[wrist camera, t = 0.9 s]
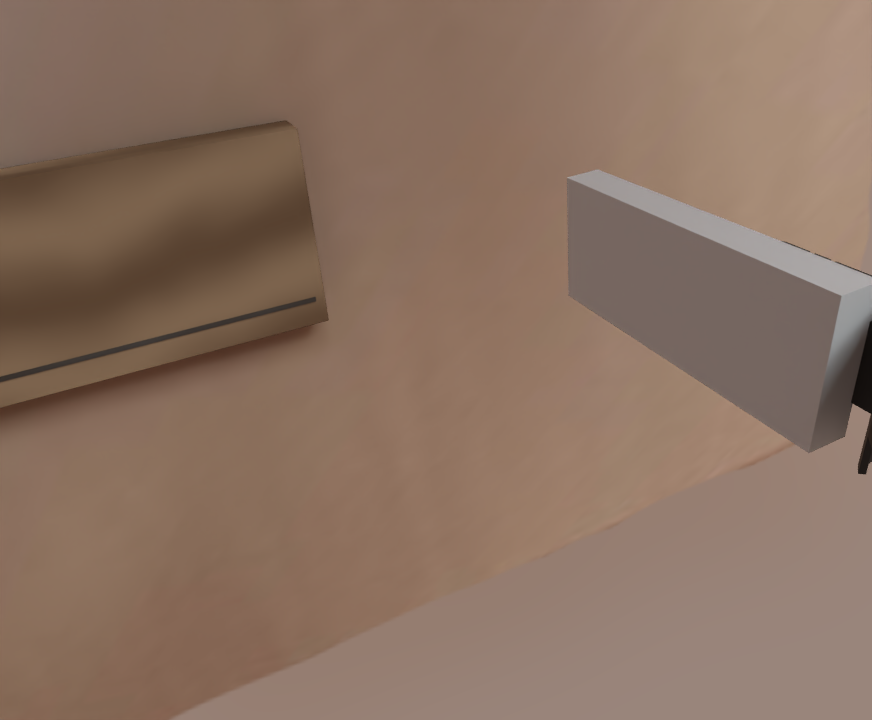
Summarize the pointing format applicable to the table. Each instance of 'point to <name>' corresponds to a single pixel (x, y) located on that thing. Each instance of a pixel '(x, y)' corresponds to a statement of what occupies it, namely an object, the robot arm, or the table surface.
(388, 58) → the table surface
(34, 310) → the board
